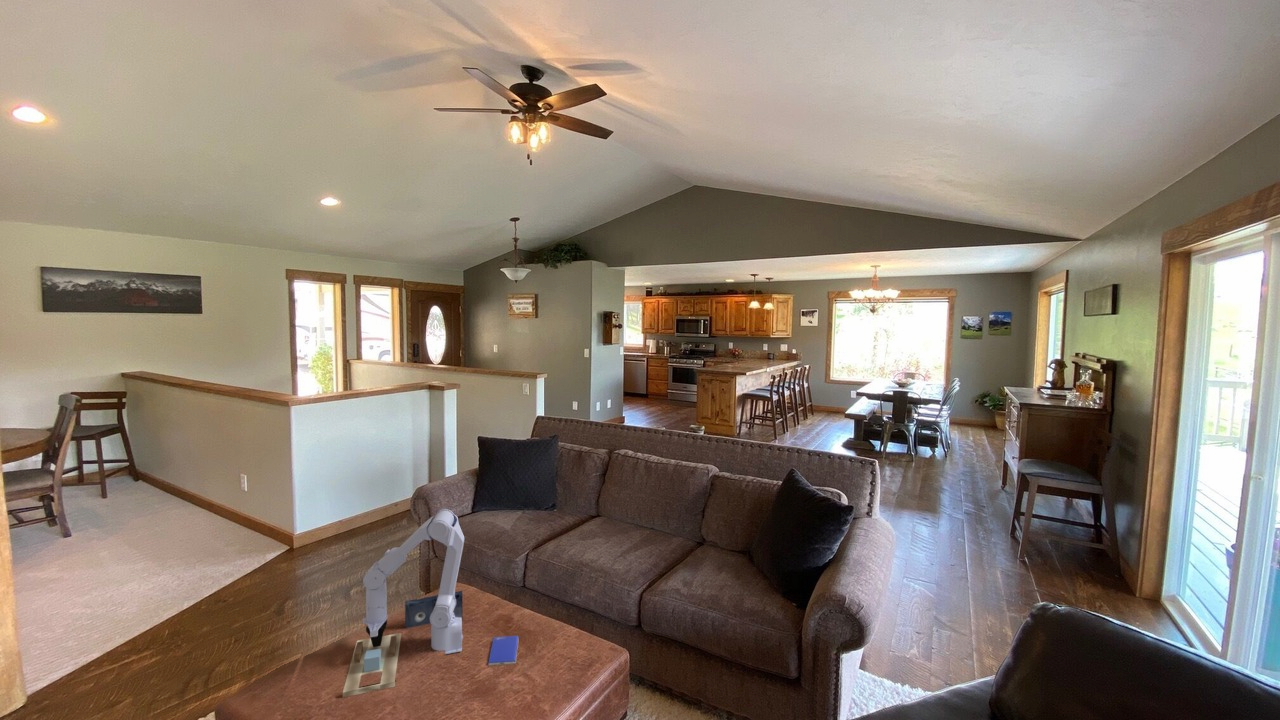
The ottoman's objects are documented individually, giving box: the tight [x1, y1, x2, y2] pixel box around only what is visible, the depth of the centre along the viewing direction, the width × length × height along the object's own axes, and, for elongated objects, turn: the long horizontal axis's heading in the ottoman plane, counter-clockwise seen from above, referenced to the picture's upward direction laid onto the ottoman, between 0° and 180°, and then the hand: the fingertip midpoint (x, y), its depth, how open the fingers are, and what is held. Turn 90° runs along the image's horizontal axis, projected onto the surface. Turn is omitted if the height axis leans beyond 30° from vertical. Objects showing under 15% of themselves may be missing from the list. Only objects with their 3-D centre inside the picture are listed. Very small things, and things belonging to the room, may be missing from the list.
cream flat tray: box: [342, 632, 402, 698], centre depth 154 cm, size 13×24×4 cm, turn 21°
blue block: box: [364, 649, 381, 672], centre depth 152 cm, size 4×4×4 cm
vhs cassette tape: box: [404, 590, 464, 630], centre depth 175 cm, size 18×3×10 cm, turn 114°
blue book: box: [487, 635, 519, 667], centre depth 163 cm, size 2×8×12 cm
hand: (377, 645), depth 160 cm, fingers closed
